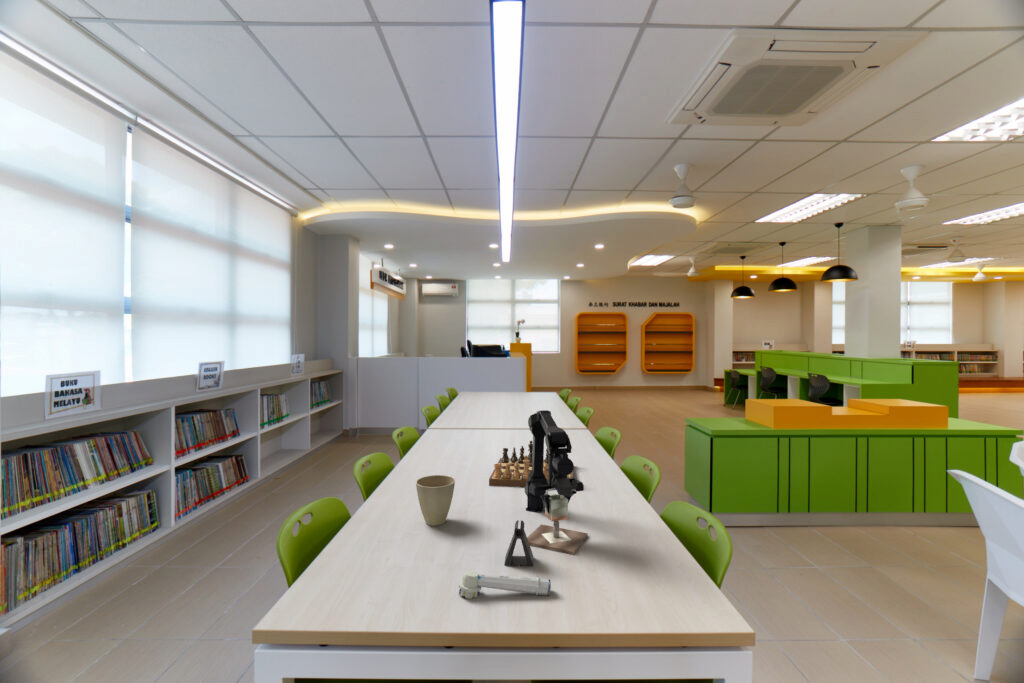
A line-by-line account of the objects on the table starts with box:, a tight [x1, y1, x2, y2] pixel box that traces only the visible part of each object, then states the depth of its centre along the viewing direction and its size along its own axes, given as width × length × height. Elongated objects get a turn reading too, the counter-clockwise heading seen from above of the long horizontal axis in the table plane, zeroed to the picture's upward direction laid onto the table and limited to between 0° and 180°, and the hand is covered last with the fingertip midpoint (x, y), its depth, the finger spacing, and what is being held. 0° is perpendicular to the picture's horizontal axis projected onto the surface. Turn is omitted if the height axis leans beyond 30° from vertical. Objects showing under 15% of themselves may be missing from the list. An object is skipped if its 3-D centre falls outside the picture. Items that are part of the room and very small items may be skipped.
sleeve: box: [544, 493, 569, 522], centre depth 162 cm, size 6×6×7 cm
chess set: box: [488, 440, 574, 488], centre depth 239 cm, size 40×40×15 cm
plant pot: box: [415, 474, 456, 527], centre depth 177 cm, size 15×15×16 cm
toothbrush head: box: [457, 570, 552, 600], centre depth 127 cm, size 5×7×25 cm
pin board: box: [527, 521, 589, 556], centre depth 162 cm, size 18×16×7 cm
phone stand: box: [504, 519, 535, 567], centre depth 146 cm, size 9×6×12 cm, turn 86°
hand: (556, 511), depth 162 cm, fingers closed on sleeve, 6 cm apart
